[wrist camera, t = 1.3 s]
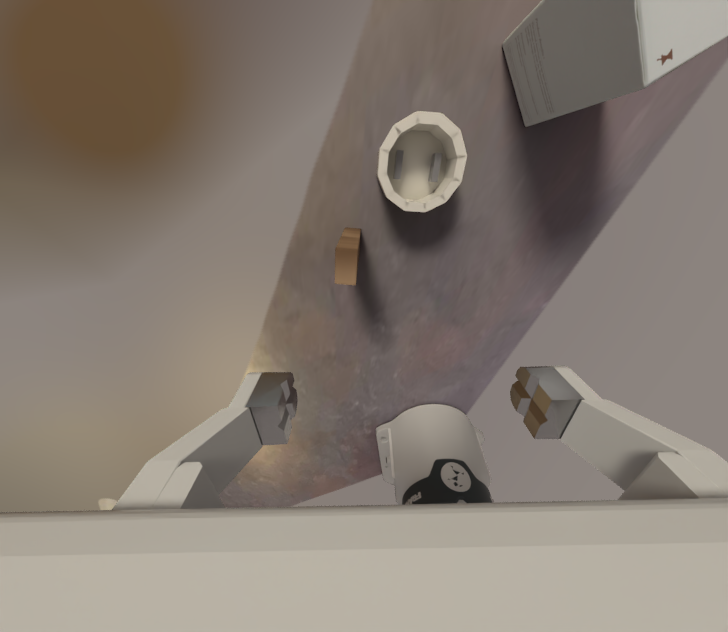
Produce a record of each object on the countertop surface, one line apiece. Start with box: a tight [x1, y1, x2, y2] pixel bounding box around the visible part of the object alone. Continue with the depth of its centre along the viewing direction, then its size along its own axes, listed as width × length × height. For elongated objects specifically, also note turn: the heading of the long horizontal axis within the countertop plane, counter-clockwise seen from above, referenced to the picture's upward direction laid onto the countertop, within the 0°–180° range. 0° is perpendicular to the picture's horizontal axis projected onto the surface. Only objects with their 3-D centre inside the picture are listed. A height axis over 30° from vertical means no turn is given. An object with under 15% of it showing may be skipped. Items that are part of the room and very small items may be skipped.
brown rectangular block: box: [335, 228, 361, 285], centre depth 26 cm, size 3×2×10 cm, turn 176°
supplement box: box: [502, 0, 728, 127], centre depth 18 cm, size 7×7×13 cm
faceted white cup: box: [376, 111, 467, 212], centre depth 25 cm, size 8×8×4 cm
